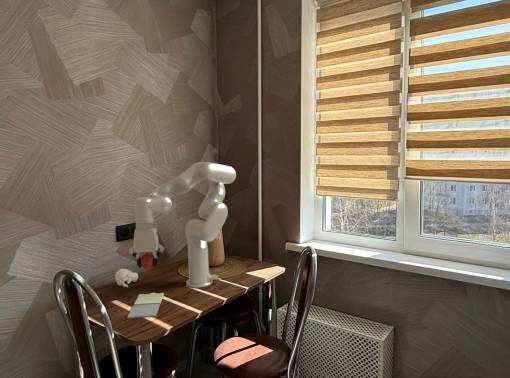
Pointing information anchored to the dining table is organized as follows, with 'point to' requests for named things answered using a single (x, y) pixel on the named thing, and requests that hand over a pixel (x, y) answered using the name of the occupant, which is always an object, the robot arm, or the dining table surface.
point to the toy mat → (144, 311)
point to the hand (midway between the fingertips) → (147, 266)
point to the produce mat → (149, 299)
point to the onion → (146, 261)
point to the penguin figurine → (125, 277)
